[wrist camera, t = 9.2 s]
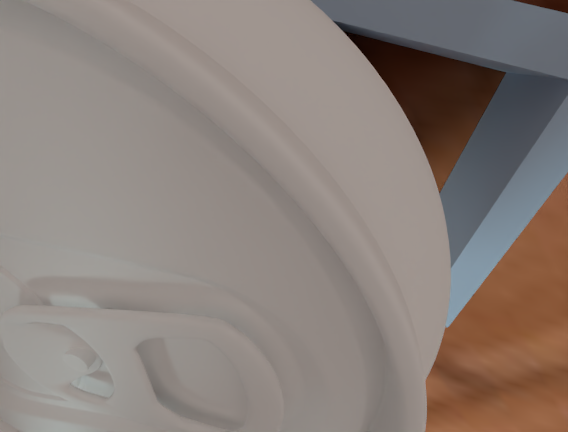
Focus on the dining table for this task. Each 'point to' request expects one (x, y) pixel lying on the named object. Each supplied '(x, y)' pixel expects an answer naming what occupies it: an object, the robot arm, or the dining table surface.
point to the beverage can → (210, 224)
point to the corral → (487, 115)
